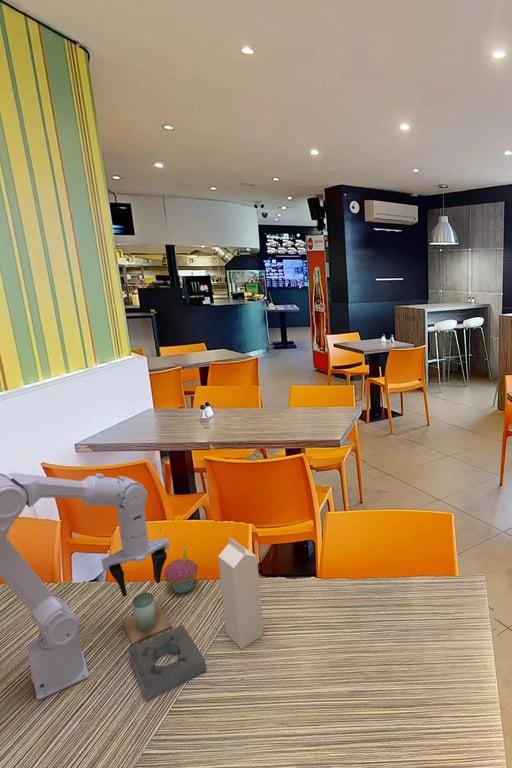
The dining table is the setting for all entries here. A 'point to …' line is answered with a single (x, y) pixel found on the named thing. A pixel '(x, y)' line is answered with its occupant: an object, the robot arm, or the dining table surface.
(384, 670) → the dining table surface
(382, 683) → the dining table surface
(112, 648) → the dining table surface
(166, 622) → the coaster
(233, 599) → the milk
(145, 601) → the cylinder
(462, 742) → the dining table surface
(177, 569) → the cupcake
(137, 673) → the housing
